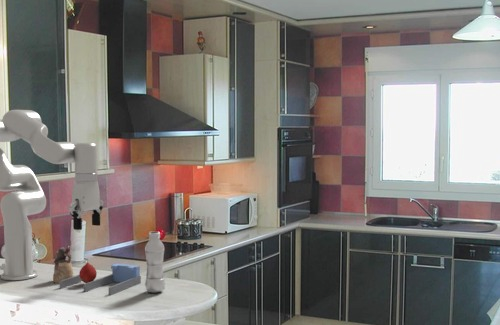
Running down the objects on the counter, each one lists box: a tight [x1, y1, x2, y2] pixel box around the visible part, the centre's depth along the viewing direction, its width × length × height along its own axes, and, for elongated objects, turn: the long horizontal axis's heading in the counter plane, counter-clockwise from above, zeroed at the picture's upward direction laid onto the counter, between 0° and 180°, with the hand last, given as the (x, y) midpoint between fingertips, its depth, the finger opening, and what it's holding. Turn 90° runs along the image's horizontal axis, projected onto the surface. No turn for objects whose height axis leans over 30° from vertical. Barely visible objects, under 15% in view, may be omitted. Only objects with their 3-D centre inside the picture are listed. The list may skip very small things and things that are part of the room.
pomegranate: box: [78, 261, 98, 284], centre depth 212 cm, size 6×6×8 cm
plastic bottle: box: [144, 231, 166, 294], centre depth 201 cm, size 6×7×20 cm
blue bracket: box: [110, 263, 141, 283], centre depth 214 cm, size 10×4×6 cm, turn 65°
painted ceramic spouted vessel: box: [52, 247, 75, 284], centre depth 218 cm, size 7×7×12 cm
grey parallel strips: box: [59, 273, 142, 296], centre depth 211 cm, size 21×17×2 cm
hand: (87, 227), depth 211 cm, fingers open, 9 cm apart
